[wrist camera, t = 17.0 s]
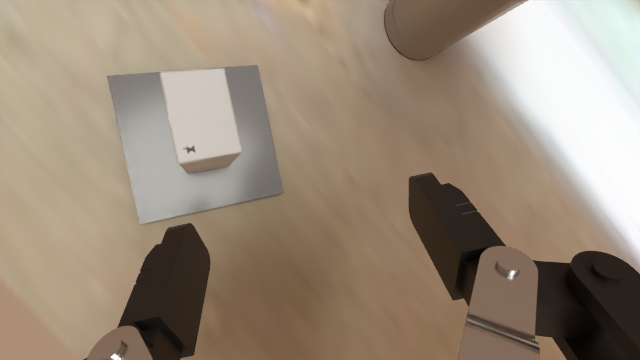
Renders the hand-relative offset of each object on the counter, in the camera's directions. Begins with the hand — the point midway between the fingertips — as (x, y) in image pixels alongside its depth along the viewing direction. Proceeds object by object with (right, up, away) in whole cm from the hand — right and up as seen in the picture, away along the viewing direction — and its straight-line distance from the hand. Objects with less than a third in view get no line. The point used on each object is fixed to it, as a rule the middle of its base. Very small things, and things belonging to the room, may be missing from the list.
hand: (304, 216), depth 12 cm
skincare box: (-11, +5, +20) cm, 24 cm away
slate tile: (-12, +5, +21) cm, 24 cm away
